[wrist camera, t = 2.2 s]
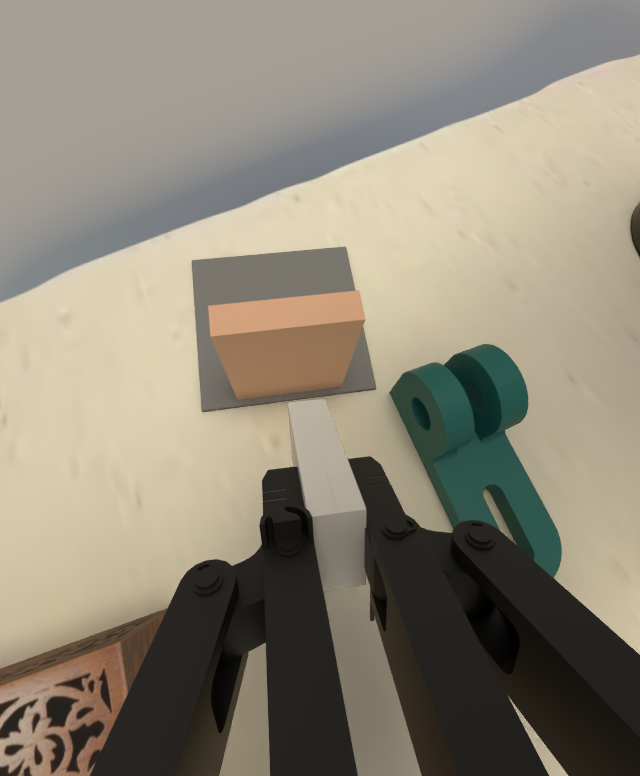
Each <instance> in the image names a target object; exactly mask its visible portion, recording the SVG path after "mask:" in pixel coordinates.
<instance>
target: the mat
mask: <svg viewBox="0 0 640 776" xmlns="http://www.w3.org/2000/svg"><path fill="white" fill-rule="evenodd" d="M192 272H193V287H194V302H195V316H196V331H197V346H198V361H199V376H200V391H201V406H202V412H206V411H214V410H222V409H229V408H237V407H244V406H252V405H260V404H267V403H275V402H283V401H290V400H298V399H305V398H313V397H321V396H328V395H336V394H344V393H351V392H359V391H366V390H374V389H376V385H375V380H374V375H373V371H372V366H371V361H370V357H369V352H368V347H367V343H366V338H365V333H364V329H363V327H362V330H361V333H360V336H359V339H358V341H357V344H356V347H355V350H354V353H353V356H352V359H351V362H350V364H349V367H348V370H347V373H346V376H345V379H344V382H343V384H342V387H337V388H329V389H321V390H313V391H306V392H298V393H290V394H282V395H275V396H267V397H259V398H251V399H244V400H237V398H236V396H235V393H234V391H233V388H232V386H231V384H230V381H229V379H228V377H227V374H226V372H225V370H224V367H223V365H222V362H221V360H220V358H219V355H218V353H217V351H216V348H215V346H214V344H213V341H212V339H211V336H210V324H209V311H208V306H211V305H221V304H230V303H240V302H250V301H260V300H270V299H279V298H289V297H299V296H309V295H318V294H328V293H338V292H348V291H355V287H354V282H353V277H352V273H351V268H350V263H349V259H348V254H347V250H346V247H337V248H325V249H314V250H303V251H292V252H281V253H269V254H258V255H247V256H236V257H225V258H213V259H202V260H192Z"/></svg>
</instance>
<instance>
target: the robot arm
mask: <svg viewBox="0 0 640 776" xmlns="http://www.w3.org/2000/svg"><path fill="white" fill-rule="evenodd" d="M632 234H633V238H634V242H635V244H636V247H637V249H638V251H639V253H640V203H639V204H638V206H637V207H636V209H635V211H634V214H633V218H632ZM288 411H289V423H290V434H291V446H292V458H293V465H294V467H289V468H281V469H273V470H268V471H267V473H266V474H265V476H264V478H263V480H262V491H263V516H262V517H261V521H260V532H261V540H262V545H261V547H260V548H259V550H258V551H257V552H256V553H255V554H254V555H253V556H251V557H250V558H248V559H246V560H245V561H243V562H241V563H238V564H236V565H234V566H231V565H230V564H229V563H227V562H226V561H222V560H217V559H215V560H207V561H204V562H202V563H199V564H197V565H195V566H194V567H192V568H191V569H190V570H189V571H187V572H186V574H185V575H184V577H183V578H182V580H181V581H180V583H179V585H178V588H177V590H176V592H175V594H174V596H173V598H172V600H171V603H170V605H169V607H168V609H167V611H166V613H165V615H164V618H163V620H162V622H161V624H160V626H159V628H158V630H157V633H156V635H155V637H154V639H153V641H152V643H151V645H150V647H149V650H148V652H147V654H146V656H145V658H144V660H143V662H142V665H141V667H140V669H139V671H138V673H137V675H136V677H135V680H134V682H133V684H132V686H131V688H130V690H129V692H128V695H127V697H126V699H125V701H124V703H123V705H122V707H121V710H120V712H119V714H118V716H117V718H116V720H115V722H114V724H113V727H112V729H111V731H110V733H109V735H108V737H107V739H106V742H105V744H104V746H103V748H102V750H101V752H100V754H99V757H98V759H97V761H96V763H95V765H94V767H93V769H92V772H91V774H90V776H219V773H220V769H221V765H222V761H223V756H224V752H225V748H226V744H227V740H228V736H229V732H230V728H231V723H232V719H233V715H234V711H235V707H236V703H237V699H238V695H239V691H240V686H241V682H242V678H243V674H244V670H245V666H246V662H247V658H248V652H249V651H251V650H252V649H254V648H256V647H258V646H260V645H262V644H264V643H266V658H267V688H268V718H269V748H270V776H358V775H357V769H356V764H355V759H354V753H353V748H352V743H351V737H350V732H349V727H348V721H347V716H346V711H345V705H344V700H343V694H342V689H341V684H340V678H339V673H338V668H337V662H336V657H335V652H334V646H333V641H332V635H331V630H330V625H329V619H328V614H327V609H326V603H325V598H324V593H323V591H328V590H334V589H340V588H347V587H353V586H359V585H365V584H366V574H367V577H368V581H369V584H370V621H373V620H374V615H375V618H376V622H377V625H378V628H379V632H380V635H381V639H382V642H383V645H384V649H385V652H386V656H387V659H388V662H389V666H390V669H391V673H392V676H393V679H394V683H395V686H396V690H397V693H398V696H399V700H400V703H401V706H402V710H403V713H404V717H405V720H406V723H407V727H408V730H409V734H410V737H411V740H412V744H413V747H414V751H415V754H416V757H417V761H418V764H419V768H420V771H421V774H422V776H549V775H548V773H547V771H546V769H545V767H544V765H543V763H542V761H541V759H540V757H539V755H538V753H537V752H536V750H535V748H534V746H533V744H532V742H531V740H530V738H529V736H528V734H527V732H526V730H525V728H524V726H523V725H522V723H521V721H520V719H519V717H518V715H517V713H516V711H515V709H514V707H513V705H512V703H511V701H510V699H511V700H512V702H513V703H514V704H515V706H516V707H517V708H518V709H519V711H520V712H521V713H522V715H523V716H524V717H525V719H526V720H527V721H528V723H529V724H530V725H531V727H532V728H533V729H534V731H535V732H536V733H537V735H538V736H539V737H540V738H541V740H542V741H543V742H544V744H545V745H546V746H547V748H548V749H549V750H550V752H551V753H552V754H553V756H554V757H555V758H556V760H557V761H558V762H559V763H560V765H561V766H562V767H563V769H564V770H565V771H566V773H567V774H568V775H569V776H640V655H639V654H638V653H637V652H636V651H635V650H634V649H633V648H631V647H630V646H629V645H628V644H627V643H626V642H625V641H624V640H622V639H621V638H620V637H619V636H618V635H617V634H616V633H614V632H613V631H612V630H611V629H610V628H609V627H608V626H607V625H605V624H604V623H603V622H602V621H601V620H600V619H599V618H598V617H596V616H595V615H594V614H593V613H592V612H591V611H590V610H589V609H587V608H586V607H585V606H584V605H583V604H582V603H581V602H580V601H578V600H577V599H576V598H575V597H574V596H573V595H572V594H571V593H569V592H568V591H567V590H566V589H565V588H564V587H563V586H562V585H560V584H559V583H558V582H557V581H556V580H555V579H554V578H553V577H551V576H550V575H549V574H548V573H547V572H546V571H545V570H544V569H542V568H541V567H540V566H539V565H538V564H537V563H536V562H535V561H533V560H532V559H531V558H530V557H529V556H528V555H527V554H526V553H524V552H523V551H522V550H521V549H520V548H519V547H518V546H517V545H515V544H514V543H513V542H512V541H511V540H510V539H509V538H508V537H506V536H505V535H504V534H503V533H502V532H501V531H500V530H498V529H497V528H495V527H494V526H492V525H490V524H488V523H485V522H482V521H476V520H468V521H463V522H461V523H459V524H457V525H456V526H455V528H454V530H453V532H452V533H445V532H436V531H431V530H426V529H424V528H421V527H420V526H419V525H418V523H417V522H416V521H415V520H414V519H412V518H411V517H409V516H407V515H406V514H405V513H404V511H403V509H402V507H401V505H400V503H399V501H398V499H397V497H396V495H395V492H394V490H393V488H392V486H391V484H390V483H389V480H388V478H387V476H386V475H385V472H384V470H383V468H382V466H381V464H380V463H378V462H377V461H376V460H374V459H373V458H372V457H371V456H369V457H361V458H353V459H347V456H346V454H345V451H344V448H343V446H342V443H341V440H340V438H339V435H338V432H337V430H336V427H335V424H334V422H333V419H332V416H331V414H330V411H329V408H328V406H327V403H326V400H325V399H316V400H307V401H297V402H288ZM507 695H508V696H509V697H508V696H507ZM509 698H510V699H509Z"/></svg>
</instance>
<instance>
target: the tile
mask: <svg viewBox="0 0 640 776" xmlns="http://www.w3.org/2000/svg"><path fill="white" fill-rule="evenodd" d="M208 311H209V324H210V336H211V339H212V341H213V344H214V346H215V348H216V351H217V353H218V355H219V358H220V360H221V362H222V365H223V367H224V370H225V372H226V374H227V377H228V379H229V381H230V384H231V386H232V388H233V391H234V393H235V396H236V398H237V400H244V399H251V398H259V397H267V396H275V395H282V394H290V393H298V392H306V391H313V390H321V389H329V388H337V387H342V384H343V382H344V379H345V376H346V373H347V370H348V367H349V364H350V362H351V359H352V356H353V353H354V350H355V347H356V344H357V341H358V339H359V336H360V333H361V330H362V327H363V324H364V321H365V316H364V312H363V307H362V302H361V298H360V293H359V290H358V291H348V292H338V293H328V294H318V295H309V296H299V297H289V298H279V299H270V300H260V301H250V302H240V303H230V304H221V305H211V306H208Z"/></svg>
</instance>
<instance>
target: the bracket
mask: <svg viewBox="0 0 640 776" xmlns="http://www.w3.org/2000/svg"><path fill="white" fill-rule="evenodd" d="M390 395H391V397H392V399H393V401H394V403H395V405H396V407H397V410H398V412H399V414H400V416H401V418H402V420H403V422H404V424H405V427H406V429H407V431H408V433H409V435H410V437H411V439H412V441H413V444H414V446H415V448H416V450H417V452H418V454H419V456H420V459H421V461H422V463H423V465H424V467H425V469H426V471H427V473H428V476H429V478H430V480H431V482H432V484H433V486H434V488H435V490H436V493H437V495H438V497H439V499H440V501H441V503H442V505H443V507H444V510H445V512H446V514H447V516H448V518H449V520H450V522H451V524H452V527H453V529H454V528H455V526H456V525H457V524H459V523H461V522H463V521H468V520H476V521H482V522H485V523H488V524H490V525H492V526H494V527H495V528H497V529H498V530H500V529H499V527H498V525H497V523H496V521H495V519H494V517H493V515H492V513H491V511H490V509H489V507H488V505H487V504H486V502H485V500H484V497H483V491H484V488H486V489H488V490H489V491H490V493H491V495H492V497H493V499H494V501H495V503H496V505H497V507H498V509H499V511H500V512H501V514H502V516H503V518H504V520H505V522H506V524H507V526H508V528H509V530H510V532H511V534H512V536H513V538H514V540H515V542H516V544H517V546H518V547H519V548H520V549H521V550H522V551H523V552H524V553H526V554H527V555H528V556H529V557H530V558H531V559H532V560H533V561H535V562H536V563H537V564H538V565H539V566H540V567H541V568H542V569H544V570H545V571H546V572H547V573H548V574H549V575H550V576H551V577H553V578H554V576H555V575H556V573H557V571H558V568H559V566H560V562H561V551H562V550H561V542H560V537H559V534H558V531H557V529H556V527H555V525H554V523H553V521H552V519H551V517H550V516H549V514H548V512H547V510H546V508H545V506H544V505H543V503H542V501H541V499H540V497H539V495H538V493H537V492H536V490H535V488H534V486H533V484H532V482H531V481H530V479H529V477H528V475H527V473H526V471H525V470H524V468H523V466H522V464H521V462H520V460H519V458H518V457H517V455H516V453H515V451H514V449H513V447H512V446H511V444H510V442H509V440H508V438H507V436H506V434H505V430H506V429H508V428H510V427H512V426H514V425H516V424H518V423H520V422H521V421H522V420H523V419H524V418H525V416H526V413H527V409H528V393H527V388H526V385H525V382H524V379H523V377H522V375H521V373H520V371H519V369H518V367H517V366H516V364H515V363H514V362H513V360H512V359H511V358H510V357H509V356H508V355H507V354H506V353H505V352H504V351H503V350H501V349H500V348H498V347H496V346H493V345H489V344H483V345H480V346H477V347H474V348H472V349H469V350H466V351H463V352H461V353H458V354H455V355H454V356H452V357H451V358H450V360H449V361H448V362H447V363H446V364H445V365H444V366H443V365H442V364H439V363H430V364H428V365H425V366H422V367H419V368H416V369H414V370H411V371H408V372H405V373H404V374H403V375H402V376H401V377H400V379H399V380H398V381H397V383H396V384H395V386H394V387H393V388H392V390H391V391H390Z"/></svg>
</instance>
